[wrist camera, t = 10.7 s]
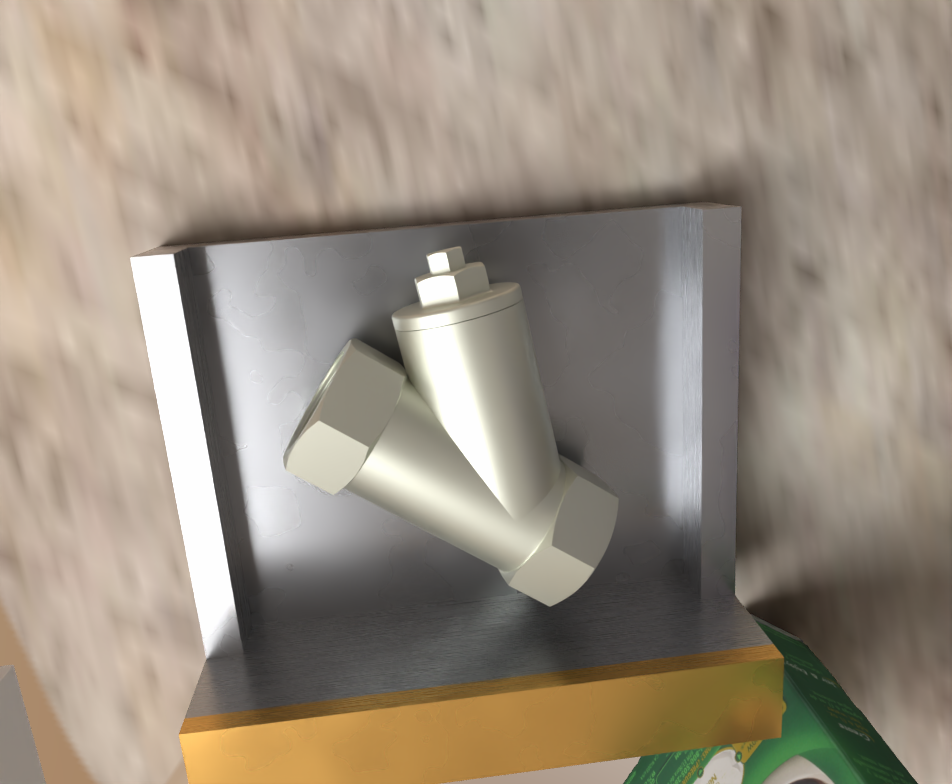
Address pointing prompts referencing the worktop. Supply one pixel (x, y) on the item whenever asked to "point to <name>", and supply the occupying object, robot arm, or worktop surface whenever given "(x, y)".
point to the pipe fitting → (460, 435)
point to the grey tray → (436, 561)
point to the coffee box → (790, 738)
